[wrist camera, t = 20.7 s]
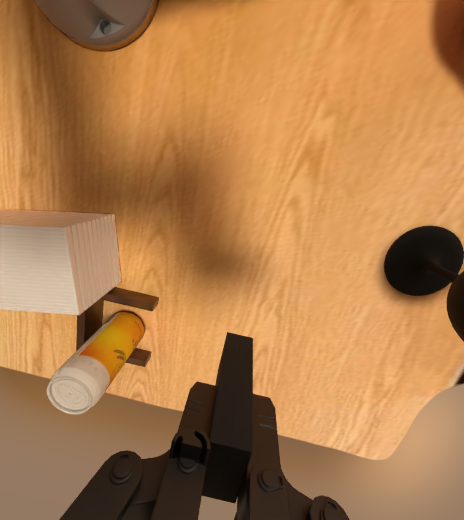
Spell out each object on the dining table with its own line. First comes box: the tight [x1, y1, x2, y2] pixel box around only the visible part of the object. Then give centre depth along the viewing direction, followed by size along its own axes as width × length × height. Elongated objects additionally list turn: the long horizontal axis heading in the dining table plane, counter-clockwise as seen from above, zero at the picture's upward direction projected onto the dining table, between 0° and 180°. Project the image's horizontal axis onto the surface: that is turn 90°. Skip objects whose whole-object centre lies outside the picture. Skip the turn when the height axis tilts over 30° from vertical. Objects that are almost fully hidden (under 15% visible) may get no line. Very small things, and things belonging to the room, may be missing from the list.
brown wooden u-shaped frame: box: [76, 287, 159, 367], centre depth 42 cm, size 10×12×5 cm
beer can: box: [47, 312, 144, 414], centre depth 37 cm, size 6×6×15 cm
